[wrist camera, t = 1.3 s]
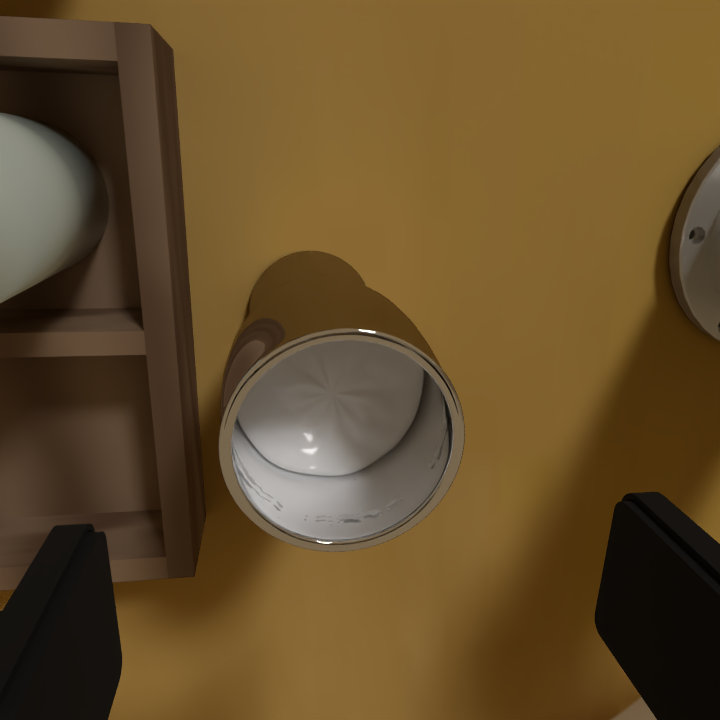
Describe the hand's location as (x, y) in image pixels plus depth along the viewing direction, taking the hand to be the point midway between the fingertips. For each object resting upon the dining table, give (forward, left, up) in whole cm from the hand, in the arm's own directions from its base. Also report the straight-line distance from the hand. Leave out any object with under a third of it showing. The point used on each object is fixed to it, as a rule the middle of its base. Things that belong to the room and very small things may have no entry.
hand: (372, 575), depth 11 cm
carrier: (+12, 0, -20) cm, 23 cm away
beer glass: (0, 0, -20) cm, 20 cm away
